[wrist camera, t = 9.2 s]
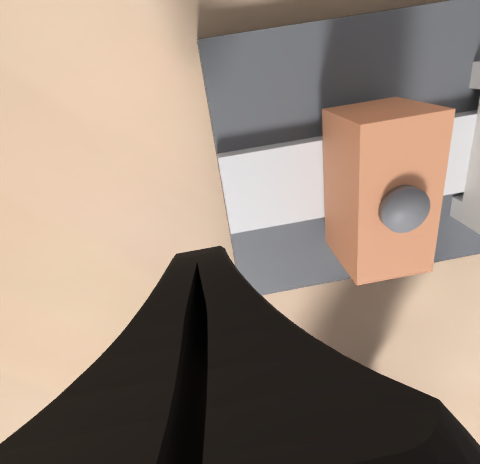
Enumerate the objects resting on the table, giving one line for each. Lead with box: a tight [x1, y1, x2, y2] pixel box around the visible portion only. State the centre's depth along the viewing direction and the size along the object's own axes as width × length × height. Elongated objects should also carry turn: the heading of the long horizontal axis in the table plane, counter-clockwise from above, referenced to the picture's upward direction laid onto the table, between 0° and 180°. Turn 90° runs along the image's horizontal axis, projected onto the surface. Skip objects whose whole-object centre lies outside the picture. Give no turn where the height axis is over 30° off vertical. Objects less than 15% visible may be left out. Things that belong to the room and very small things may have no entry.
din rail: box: [197, 0, 480, 295], centre depth 16 cm, size 20×12×3 cm, turn 98°
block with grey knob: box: [322, 97, 456, 285], centre depth 13 cm, size 3×6×4 cm, turn 8°
